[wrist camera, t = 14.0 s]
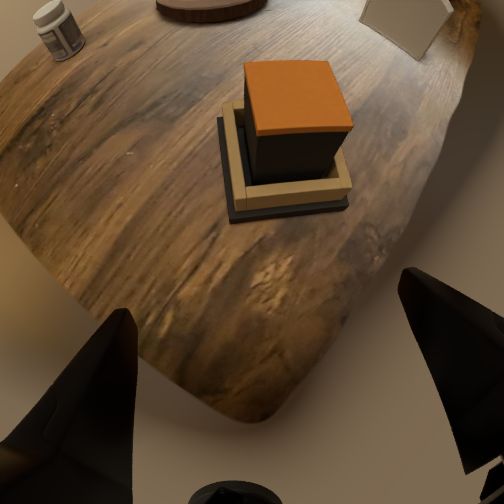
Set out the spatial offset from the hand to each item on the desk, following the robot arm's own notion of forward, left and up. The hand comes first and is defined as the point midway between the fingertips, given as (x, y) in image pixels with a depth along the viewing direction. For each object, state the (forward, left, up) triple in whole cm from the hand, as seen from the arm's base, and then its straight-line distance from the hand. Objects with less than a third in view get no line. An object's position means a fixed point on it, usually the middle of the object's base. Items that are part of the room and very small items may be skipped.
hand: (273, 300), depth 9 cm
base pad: (+10, +4, -12) cm, 17 cm away
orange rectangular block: (+10, +4, -11) cm, 16 cm away
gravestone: (+37, +2, -13) cm, 39 cm away
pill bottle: (+13, +37, -13) cm, 41 cm away
